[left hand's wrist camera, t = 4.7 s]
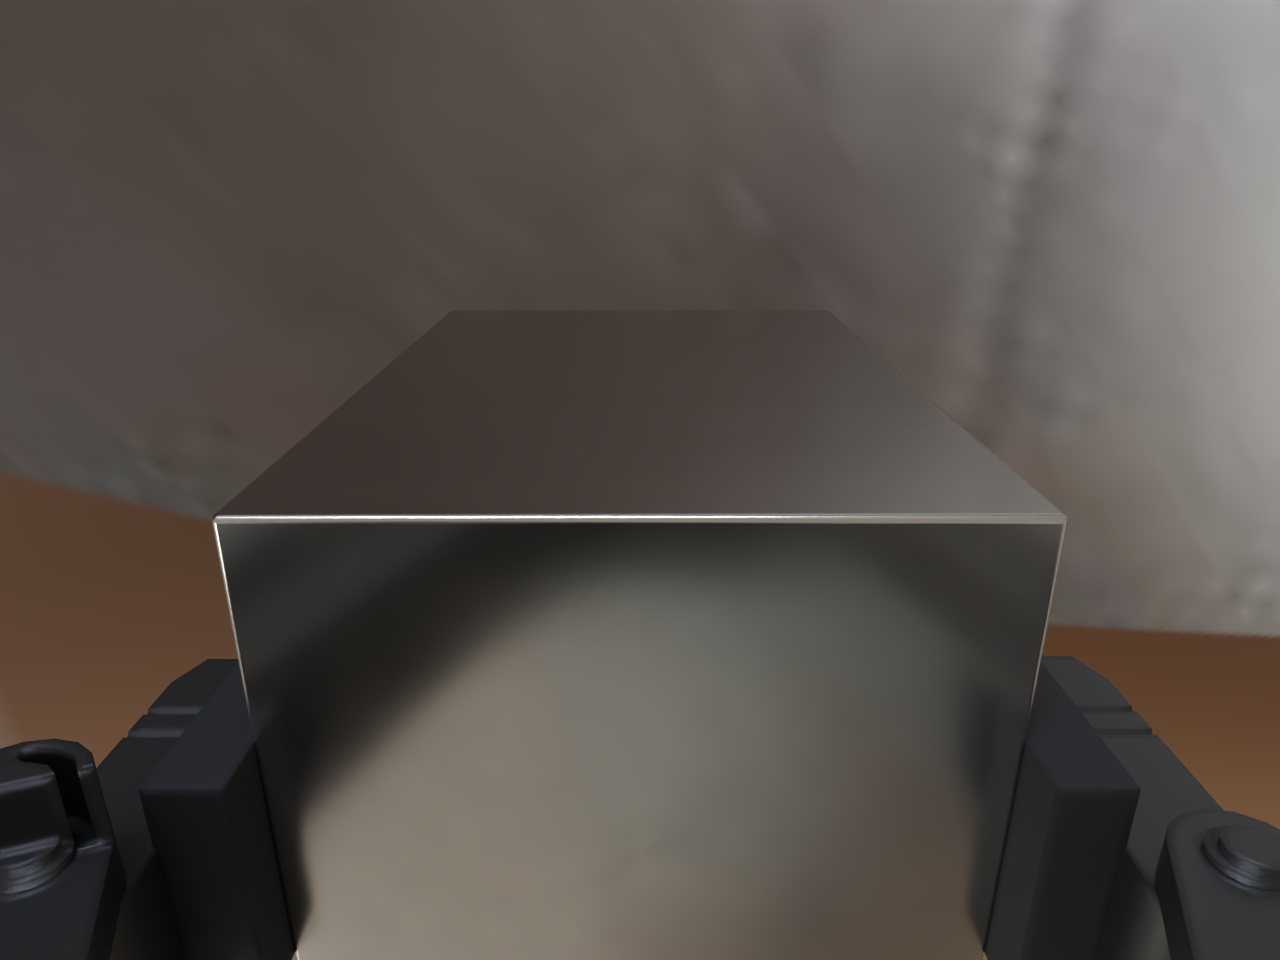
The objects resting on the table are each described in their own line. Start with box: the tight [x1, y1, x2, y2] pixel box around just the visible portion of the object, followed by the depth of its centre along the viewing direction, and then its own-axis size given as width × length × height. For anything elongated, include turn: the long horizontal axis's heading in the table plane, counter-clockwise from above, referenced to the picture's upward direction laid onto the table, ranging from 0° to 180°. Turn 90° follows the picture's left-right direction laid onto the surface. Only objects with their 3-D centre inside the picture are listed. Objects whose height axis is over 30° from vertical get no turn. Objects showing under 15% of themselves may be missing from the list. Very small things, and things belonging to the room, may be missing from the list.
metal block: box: [212, 310, 1067, 960], centre depth 13 cm, size 7×7×10 cm
